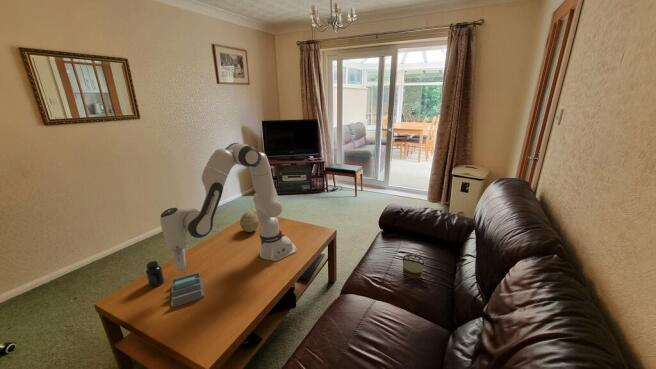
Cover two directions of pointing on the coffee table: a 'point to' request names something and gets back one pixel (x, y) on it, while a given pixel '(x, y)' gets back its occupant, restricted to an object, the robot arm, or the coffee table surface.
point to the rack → (187, 291)
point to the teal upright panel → (185, 283)
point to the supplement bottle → (154, 274)
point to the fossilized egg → (249, 222)
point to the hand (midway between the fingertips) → (183, 266)
